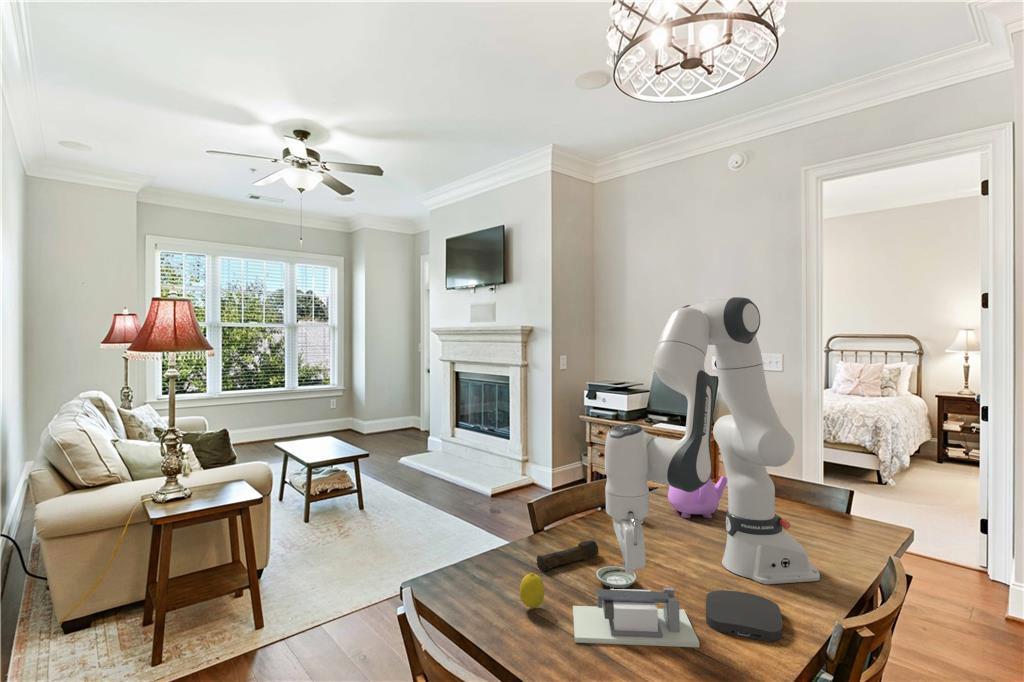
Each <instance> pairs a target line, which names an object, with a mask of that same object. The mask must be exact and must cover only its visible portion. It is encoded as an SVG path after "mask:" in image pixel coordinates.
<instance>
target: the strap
mask: <svg viewBox="0 0 1024 682" xmlns="http://www.w3.org/2000/svg"><path fill="white" fill-rule="evenodd" d="M668 599H670V597H669V595H668V593H667V592H663V591H652V590H650V591H629V590H610V589H606V588H605V589H600V588H597V589H596V601H597V602H596V603H597V607H598V608H602V607H603V603H602V600H605V601H628V602H651V603H655V604H663V603H668Z"/></svg>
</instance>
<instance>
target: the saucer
mask: <svg viewBox="0 0 1024 682" xmlns="http://www.w3.org/2000/svg"><path fill="white" fill-rule="evenodd" d="M595 576H596V578H597V579H598V581H599V582H600V583H602V584H603V585H604V586H606V587H608V586H609V588H611V587H612V588H611V589H614V588H622V589H626V588H628V587H630V586H631V585H633V584H634V583H636V581H637V575H636V573H635V572H634V574H627V573H626V571H625V568H624V566H623V567H621V566H615V565H613V566H611V565H609V566H604V567H601V568H599V569H597V571H596V575H595Z"/></svg>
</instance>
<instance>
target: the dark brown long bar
mask: <svg viewBox="0 0 1024 682" xmlns="http://www.w3.org/2000/svg"><path fill="white" fill-rule="evenodd" d="M597 556H599V546H598V544H597V542H596V541H595V540H592V539H591V540H585V541H581V542H579V543H578V544H577V546H575V547H572V548H571V547H570V548H567V549H563V550H560V551H556V552H555V551H554V552H552V553H548V554H544V555H543V554H542V555H539V554H537V556H536V565H537V569H538V568H539V569H538V570H539V571H541V570H542V571H541V572H545V571H546V570H547V571H550V570H551V569H552V568H555V567H559V566H563V565H566V564H570V563H574V562H577V561H582V562H586V560H587V561H589V560H588V559H590V560H591V558H592V559H594V558H596V557H597ZM593 557H594V558H593Z"/></svg>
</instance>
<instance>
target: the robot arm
mask: <svg viewBox="0 0 1024 682" xmlns="http://www.w3.org/2000/svg"><path fill="white" fill-rule="evenodd" d="M760 326H761V314H760V310H759V308H758V307H757V305H756V304H755V303H754V302H753V301H752V300H751V298H750V299H749V298H746V297H739V296H733V297H730V298H717V299H710V300H707V301H703V302H699V303H694V304H687V305H685V306H681V307H680V308H677V309H676V310H674V311H673V312H672V313H671V314H670V316H669V317H668V320H667V321H666V322H665V325H664V327H663V329H662V332H661V335H660V337H659V340H658V343H657V345H656V348H655V349H656V350H655V352H654V356H653V361H652V363H653V365H652V366H653V367H652V368H653V370H654V373H655V375H656V376H657V378H658V379H659V380H660V382H662V383H663V384H664V385H665V386H667V387H669V389H672V390H674V391H675V392H676V393H677V392H678V393H679V394H681V395H682V396H685V397H686V400H687V412H686V422H685V431H684V436H683V437H682V438H681V439H673V438H667V437H661V436H657V435H656V436H655V435H653V434H650V433H648V432H646V431H645V429H644V428H643V427H642V426H641V425H639V424H634V423H625V424H619V425H615V426H613V427H611V428H610V429H609V430H608V432H607V434H606V438H605V446H604V472H605V474H606V483H605V488H604V489H605V490H604V491H605V493H604V494H605V513H606V514H607V515H608V516H610V517H611V521H612V524H613V530H614V533H615V535H616V539H617V543H618V546H619V547H620V548H619V549H620V552H621V554H622V558H623V568H625V571H626V573H627V574H634V573H635V570H644V569H645V568H646V565H647V564H646V547H645V546H646V545H645V534H644V533H645V532H644V529H643V526H642V524H643V523H644V519H645V518H647V517H648V516H649V515H650V490H649V486H648V482H649V481H651V482H652V483H657V484H661V485H666V486H669V487H670V486H672V487H674V488H677V489H680V490H683V491H686V492H694V491H696V490H698V489H699V488H701V487H702V486H704V485H705V484H706V483H707V482H708V481H709V479H711V476H712V465H713V463H712V451H711V450H712V449H711V444H712V442H711V441H712V434H713V438H714V440H715V442H716V444H717V446H718V448H719V450H720V454H721V458H722V462H723V466H724V470H725V475H726V477H727V505H728V506H727V509H726V516H725V529H726V532H727V533H726V535H727V536H726V544H725V547H724V553H723V557H722V560H721V565H722V566H723V567H724V568H725V569H726V570H728V571H729V572H731V573H733V574H736V575H738V576H740V577H744V578H748V579H751V580H753V581H755V582H758V583H761V584H764V585H774V584H775V585H776V584H788V583H789V584H791V583H803V582H817V581H820V579H821V576H820V571H819V570H818V569H817V567H816V566H815V565H814V564H812V563H811V562H810V559H809V556H808V552H807V551H806V548H804V546H803V545H802V544H801V543H800V542H799V541H798V540H796V539H795V538H794V537H793V536H792V535H791V534H789V533H787V532H786V531H785V530H789V529H790V528H791V526H792V525H791V523H790V522H789V521H788V520H787V519H785V518H783V517H781V516H780V515H778V514H776V501H775V500H776V499H775V498H776V495H775V494H776V490H775V489H776V487H775V483H774V482H773V480H772V478H771V477H770V475H769V472H768V471H767V467H774V468H776V467H782V466H784V465H786V464H787V463H789V461H790V460H791V459H792V457H793V456H794V453H795V441H794V439H793V436H792V435H791V434H790V433H789V431H788V430H787V429H786V428H785V427H784V425H783V423H782V422H781V420H780V418H779V416H778V414H777V412H776V409H775V407H774V404H773V403H772V400H771V397H770V394H769V390H768V387H767V386H768V385H767V381H766V376H765V375H766V374H765V369H764V362H763V356H762V352H761V348H760V345H759V342H758V339H757V336H756V335H757V333H758V331H759V329H760ZM708 346H714V350H715V351H714V355H715V356H714V357H715V365H716V366H715V367H716V371H717V379H718V385H719V391H720V396H721V399H722V401H723V402H724V403H725V405H726V406H727V408H728V410H729V411H730V414H725V415H723V416H721V417H719V418H718V419H717V420H716V421H715V423H714V425H712V424H713V414H714V413H713V410H714V383H713V378H712V377H711V375H710V374H709V373H707V371H706V369H705V361H706V357H707V353H708V348H709V347H708ZM712 426H713V428H712ZM712 429H713V430H712Z"/></svg>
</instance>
